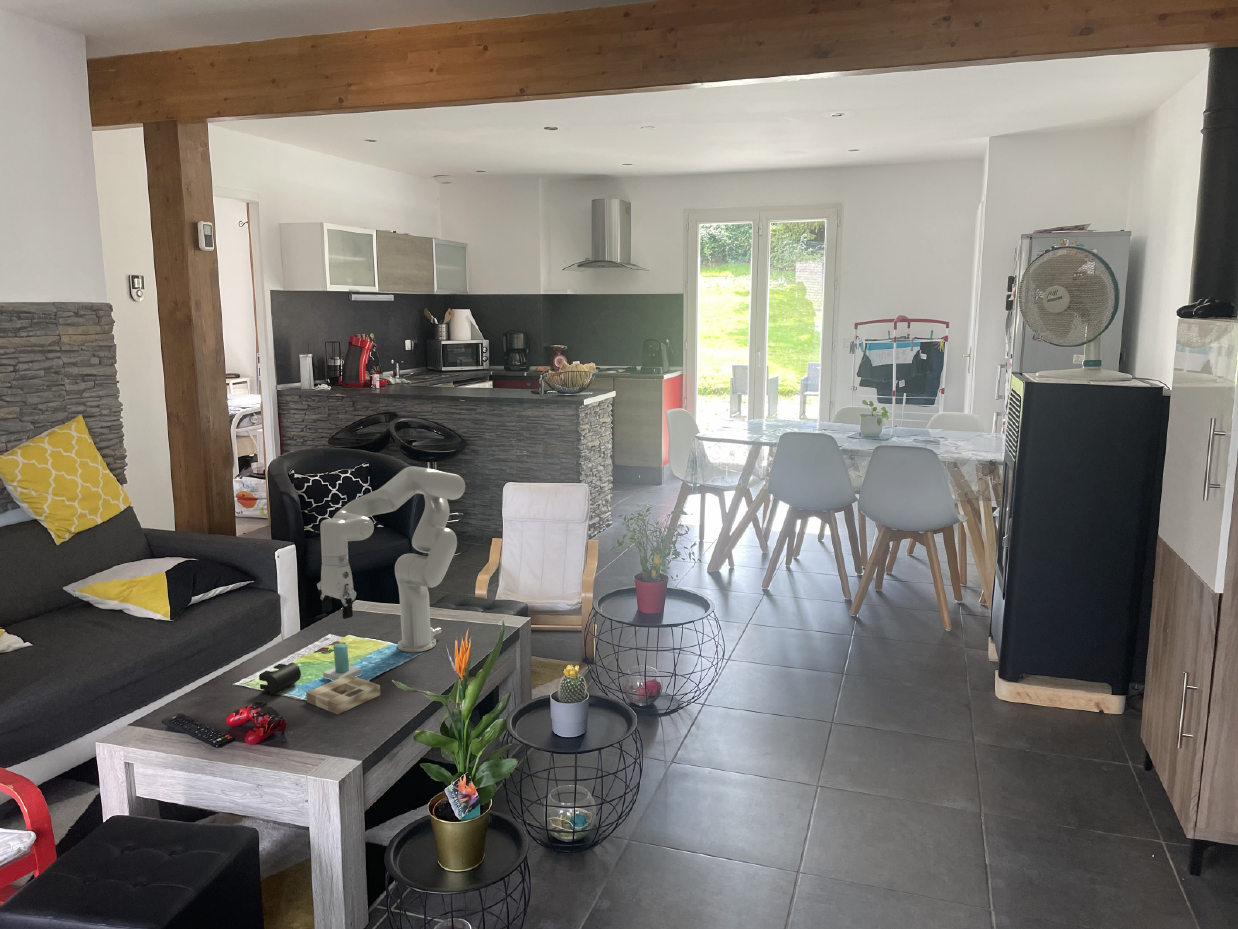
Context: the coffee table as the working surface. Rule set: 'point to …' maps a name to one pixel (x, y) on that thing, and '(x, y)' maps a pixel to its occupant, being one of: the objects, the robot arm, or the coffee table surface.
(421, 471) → the robot arm
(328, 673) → the light grey square slab
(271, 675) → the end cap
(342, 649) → the teal peg
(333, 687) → the plate
